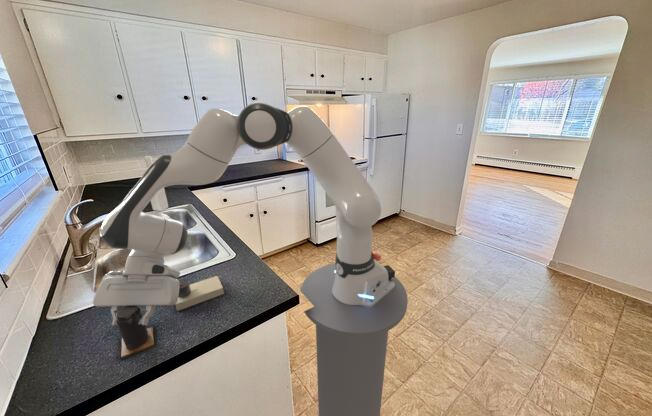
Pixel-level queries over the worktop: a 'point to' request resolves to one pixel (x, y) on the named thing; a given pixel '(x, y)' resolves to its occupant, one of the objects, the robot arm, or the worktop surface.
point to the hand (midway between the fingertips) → (129, 325)
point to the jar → (131, 327)
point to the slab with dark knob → (201, 293)
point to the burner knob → (184, 289)
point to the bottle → (148, 162)
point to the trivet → (128, 352)
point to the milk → (159, 201)
